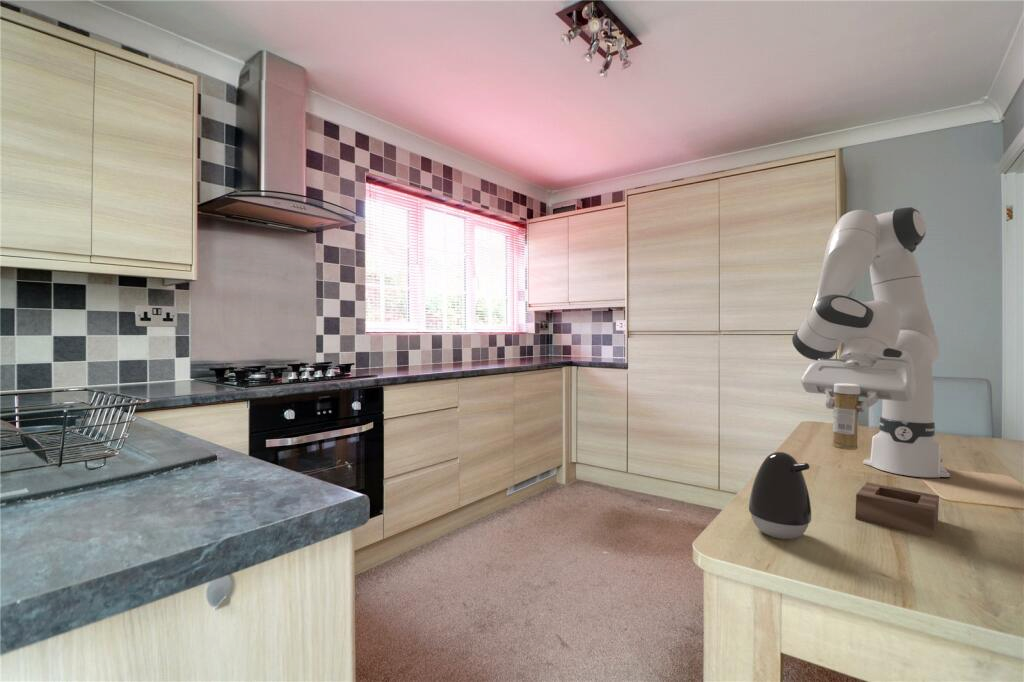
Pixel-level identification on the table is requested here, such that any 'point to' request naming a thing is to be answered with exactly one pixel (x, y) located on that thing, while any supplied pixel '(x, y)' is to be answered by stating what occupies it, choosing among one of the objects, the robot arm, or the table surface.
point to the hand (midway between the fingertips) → (845, 408)
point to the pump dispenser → (780, 497)
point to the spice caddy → (898, 508)
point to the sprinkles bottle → (845, 416)
